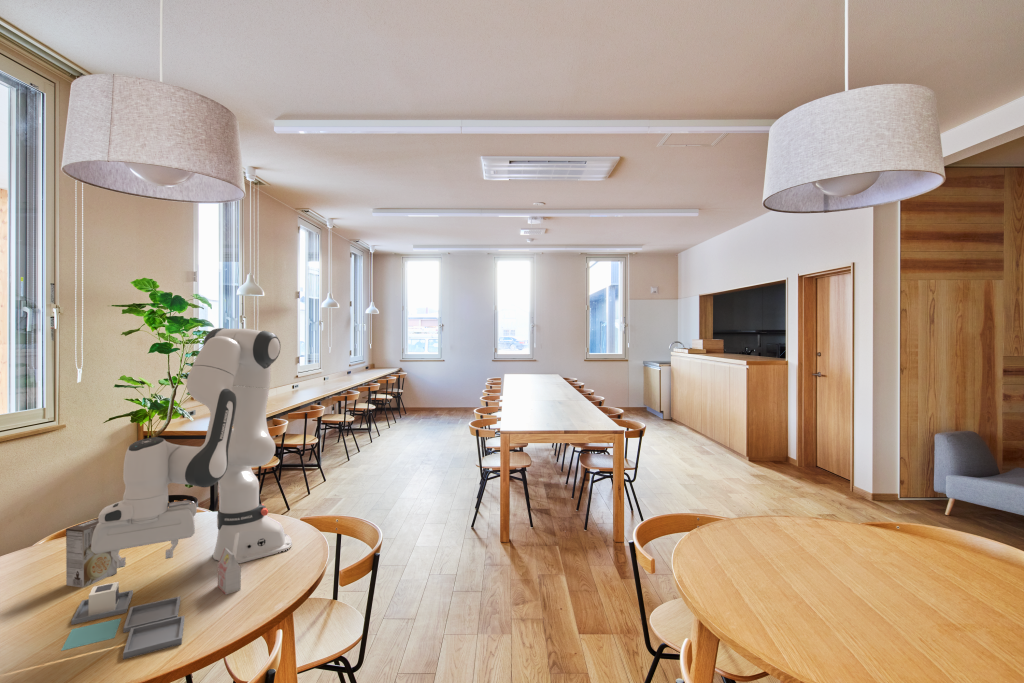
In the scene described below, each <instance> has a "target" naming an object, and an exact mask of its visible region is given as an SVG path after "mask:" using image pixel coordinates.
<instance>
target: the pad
mask: <svg viewBox="0 0 1024 683" xmlns="http://www.w3.org/2000/svg"><path fill="white" fill-rule="evenodd" d="M121 620H122V617H121V618H120V617H119V618H116V619H112V620H107V621H102V622H98V623H94V624H89V625H84V626H81V627H77V628H72V629H71V631H70V632H69V634H68V636H67V638H66V640H65V642H64V643H63V645H62V648H61V649H60V651H61V652H62V651H68V650H70V649H75V648H78V647H83V646H87V645H91V644H92V645H93V644H95V643H96V644H97V643H99V642H103V641H109V640H112V639H115V638H116V634H117V631H118V629H119V626H120V624H121Z"/></svg>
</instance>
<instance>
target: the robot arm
mask: <svg viewBox="0 0 1024 683" xmlns="http://www.w3.org/2000/svg"><path fill="white" fill-rule="evenodd" d="M202 345H203V346H202V347H201V349H200V350H199V352H198V354H197V355H196V357H195V359H194V362H193V364H192V366H191V369H190V371H189V373H188V375H187V379H186V383H185V384H186V386H185V387H186V389H187V392H188V394H189V395H190V397H192V399H194V400H195V401H197V402H199V403H200V404H202V405H204V406H205V407H207V408H208V409H209V410H208V411H209V413H210V417H209V422H208V426H207V431H206V436H205V441H204V442H203V444H201V446H193V445H192V446H191V445H182V444H181V445H180V444H175V443H171V442H169V441H166V439H165V438H163V437H148V438H147V437H146V438H143V439H140V440H136V441H134V442H132V443H131V444H130V445H128V447H127V449H126V451H125V455H124V460H123V472H122V473H123V474H122V475H123V477H122V478H123V483H124V486H125V489H124V493H123V496H122V500H120V501H117V502H115V503H112V504H109V505H107V506H105V507H103V508H102V510H101V511H100V512H99V514H98V517H97V518H98V520H99V523H98V524H97V526H96V528H95V530H94V532H93V537H92V543H91V551H92V552H94V553H95V554H98V553H104V552H109V551H111V556H112V557H113V559H114V560H115V561H117V569H120V568H125V567H126V564H127V563H126V557H122V556H121V555H120V554H119V553H120V550H127V549H130V548H137V547H143V546H149V545H154V544H155V545H156V544H159V543H165V542H170V544H171V546H170V548H168V549H166V550H165V559H166V560H169V559H172V558H173V556H174V551H175V550H176V548H177V547H178V544H179V540H182V539H187V538H192V537H193V536H194V534H195V533H196V524H195V516H196V514H197V513H198V512H197V511H198V510H197V507H198V506H197V504H196V502H195V501H191V500H190V499H184V500H181V501H170V502H169V487H168V486H169V485H170V484H178V485H190V486H195V487H200V488H209V487H212V486H214V485H216V484H217V483H218V494H219V496H218V497H219V498H218V499H219V500H218V502H219V506H218V507H219V509H218V510H217V514H216V527H217V537H216V543H215V548H214V551H213V554H212V558H213V559H214V560H215V561H218V562H219V561H220V559H221V556H222V554H223V551H224V548H227V549H228V550H229V551H230V552H231V553H232V554H233V555H234V557H235V559H236V561H237V563H238V564H242V563H245V562H250V561H253V560H257V559H261V558H263V557H267V556H272V555H274V554H279V553H282V552H281V551H283V552H286V551H288V550H289V549H288V548H290V546H291V545H292V546H293V540H292V538H291V536H290V535H289V534H287V533H285V530H284V527H283V525H282V523H281V522H280V521H278V520H276V519H274V518H272V517H270V515H268V514H269V510H268V508H267V506H266V505H265V504H264V503H260V481H259V479H258V477H257V475H255V473H254V471H253V469H252V468H255V467H263V466H265V465H267V464H269V463H270V462H271V460H272V459H273V457H274V455H275V453H276V442H275V440H274V439H273V437H272V436H271V435H270V433H269V432H270V431H269V427H268V423H267V422H268V421H267V407H268V405H267V404H268V400H269V392H270V386H271V376H272V374H271V372H272V369H271V367H272V366H271V365H272V364H274V362H276V360H277V359H278V357H279V355H280V353H281V341H280V339H279V337H278V335H276V333H273V332H271V331H268V330H257V329H252V328H226V327H220V328H219V327H218V328H214V329H211V330H210V331H209V332H208V333H207V334H206V335H205V337H204V340H203V344H202ZM292 546H291V547H292ZM287 549H288V550H287ZM290 549H291V548H290ZM285 550H286V551H285ZM278 552H279V553H278Z"/></svg>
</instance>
